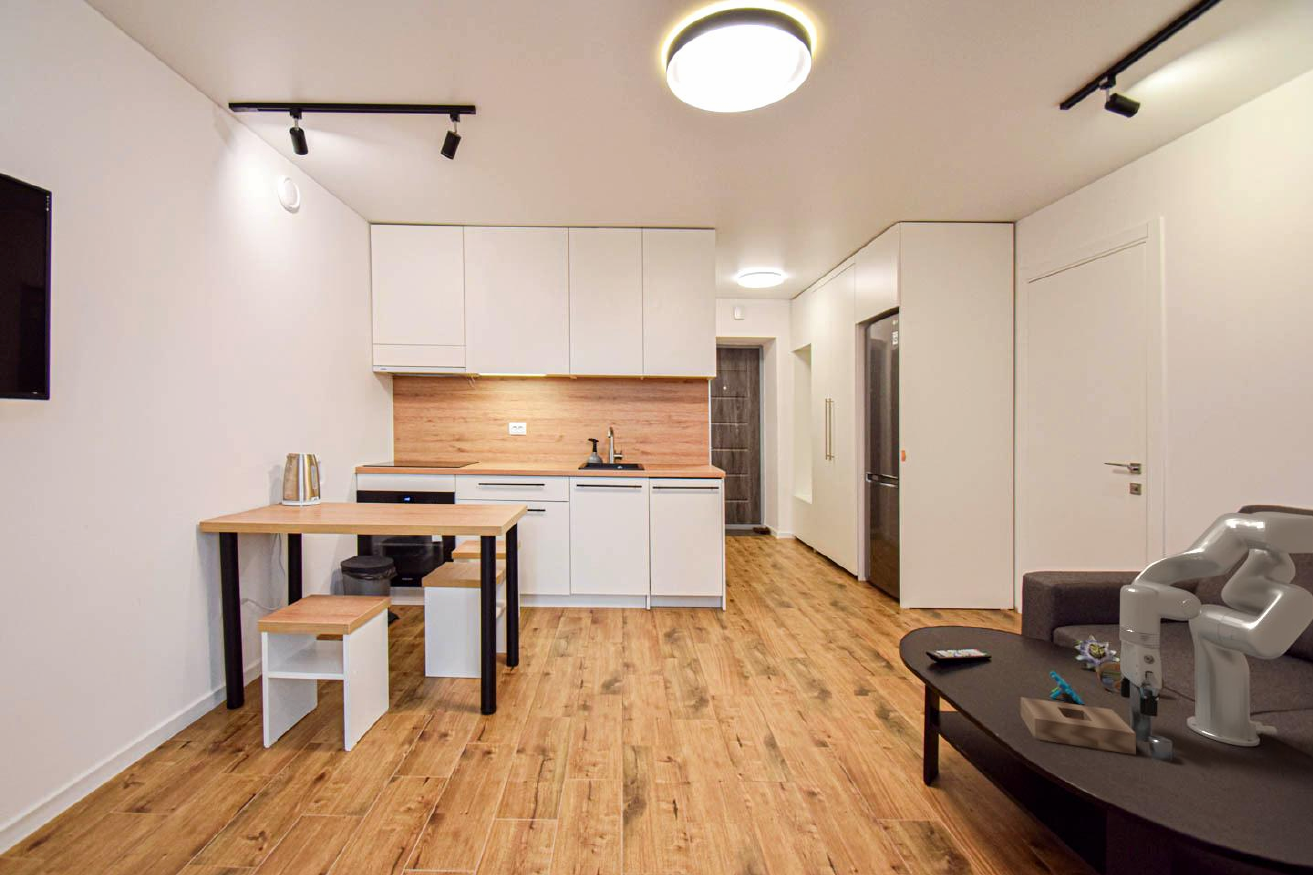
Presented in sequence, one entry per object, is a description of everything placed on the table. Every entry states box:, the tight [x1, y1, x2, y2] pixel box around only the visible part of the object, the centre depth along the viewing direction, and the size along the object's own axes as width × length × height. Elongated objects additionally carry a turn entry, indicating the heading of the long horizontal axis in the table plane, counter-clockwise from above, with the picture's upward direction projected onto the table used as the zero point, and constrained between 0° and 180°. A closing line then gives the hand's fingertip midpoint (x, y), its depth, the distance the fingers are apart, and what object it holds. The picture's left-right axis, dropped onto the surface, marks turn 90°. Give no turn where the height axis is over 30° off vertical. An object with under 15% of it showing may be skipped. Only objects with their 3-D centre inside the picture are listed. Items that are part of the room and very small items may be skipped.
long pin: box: [1129, 681, 1153, 742], centre depth 135 cm, size 4×4×14 cm
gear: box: [1049, 670, 1084, 706], centre depth 155 cm, size 11×6×10 cm
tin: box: [1096, 661, 1165, 694], centre depth 159 cm, size 15×3×8 cm, turn 68°
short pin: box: [1148, 734, 1173, 763], centre depth 126 cm, size 4×4×4 cm
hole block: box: [1020, 696, 1137, 755], centre depth 136 cm, size 20×12×5 cm, turn 70°
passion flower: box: [1073, 635, 1120, 673], centre depth 177 cm, size 11×11×12 cm
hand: (1138, 705), depth 135 cm, fingers open, 9 cm apart
